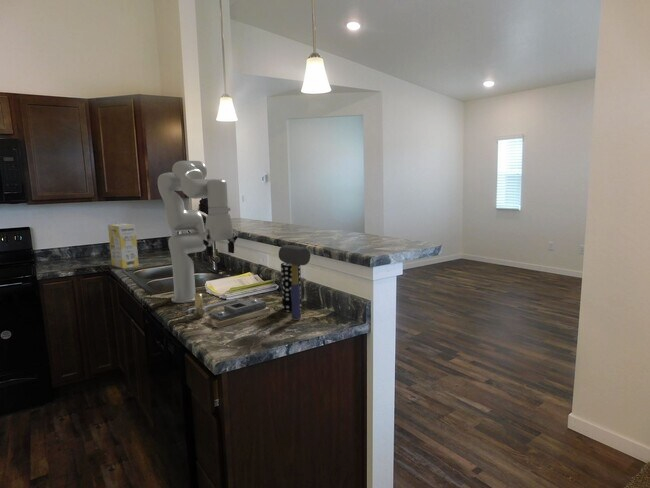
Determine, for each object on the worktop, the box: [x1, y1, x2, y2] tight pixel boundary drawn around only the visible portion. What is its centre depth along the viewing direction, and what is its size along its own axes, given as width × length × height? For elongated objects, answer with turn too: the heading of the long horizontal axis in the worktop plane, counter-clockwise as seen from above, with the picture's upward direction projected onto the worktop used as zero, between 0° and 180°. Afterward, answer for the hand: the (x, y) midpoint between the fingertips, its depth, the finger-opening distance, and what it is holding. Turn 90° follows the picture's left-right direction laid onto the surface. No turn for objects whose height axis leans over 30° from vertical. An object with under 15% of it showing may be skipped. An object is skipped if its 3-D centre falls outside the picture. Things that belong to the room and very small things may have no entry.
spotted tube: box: [280, 262, 303, 313], centre depth 183 cm, size 8×8×20 cm
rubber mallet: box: [278, 244, 311, 321], centre depth 168 cm, size 12×8×30 cm, turn 45°
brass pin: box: [194, 292, 204, 320], centre depth 175 cm, size 3×3×10 cm
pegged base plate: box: [208, 297, 267, 321], centre depth 174 cm, size 8×22×4 cm, turn 135°
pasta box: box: [107, 223, 140, 269], centre depth 289 cm, size 18×10×28 cm, turn 47°
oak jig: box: [204, 306, 271, 329], centre depth 175 cm, size 10×25×2 cm, turn 135°
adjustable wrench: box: [187, 297, 240, 315], centre depth 190 cm, size 25×6×2 cm, turn 134°
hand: (220, 254), depth 169 cm, fingers open, 9 cm apart
